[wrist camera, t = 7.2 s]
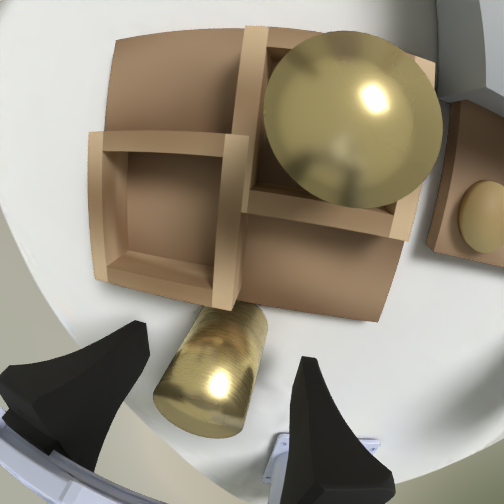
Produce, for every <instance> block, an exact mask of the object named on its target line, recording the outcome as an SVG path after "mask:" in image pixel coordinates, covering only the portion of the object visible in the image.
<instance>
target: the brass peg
mask: <svg viewBox="0 0 504 504" xmlns="http://www.w3.org/2000/svg"><path fill="white" fill-rule="evenodd" d="M267 331H268V323H267V320H266V317H265V315H264V313H263V312H262V310H261V309H260V308H259V307H258V306H257V305H256V304H254V303H249V302H244V301H238V300H236V301H235V304H234V306H233V308H232V311H228V310H223V309H218V308H213V307H208V306H204V307H203V309H202V311H201V312H200V314H199V316H198V317H197V319H196V321H195V322H194V324H193V326H192V327H191V329H190V331H189V333H188V334H187V336H186V338H185V339H184V341H183V343H182V344H181V346H180V348H179V349H178V351H177V353H176V354H175V356H174V358H173V360H172V361H171V363H170V365H169V366H168V368H167V370H166V371H165V373H164V375H163V377H162V378H161V380H160V382H159V383H158V385H157V387H156V389H155V390H154V393H153V400H154V403H155V405H156V407H157V409H158V410H159V412H160V413H161V414H162V415H163V416H164V417H165V418H166V419H167V420H169V421H170V422H171V423H173V424H174V425H176V426H177V427H179V428H181V429H183V430H185V431H187V432H189V433H192V434H195V435H198V436H202V437H207V438H228V437H232V436H234V435H236V434H238V433H239V432H240V431H241V430H242V429H243V426H244V423H245V419H246V415H247V412H248V408H249V404H250V400H251V396H252V392H253V388H254V385H255V381H256V377H257V373H258V369H259V365H260V360H261V356H262V352H263V348H264V344H265V340H266V336H267Z"/></svg>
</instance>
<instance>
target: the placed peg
mask: <svg viewBox="0 0 504 504" xmlns="http://www.w3.org/2000/svg"><path fill="white" fill-rule="evenodd" d="M263 114H264V125H265V129H266V134H267V137H268V140H269V143H270V146H271V148H272V150H273V152H274V154H275V156H276V158H277V160H278V161H279V162H280V164H281V165H282V167H283V168H284V170H285V171H286V172H287V173H288V174H289V175H290V176H291V178H292V179H293V180H294V181H296V182H297V183H298V184H299V185H300V186H301V187H303V188H304V189H305V190H307V191H308V192H310V193H311V194H313V195H315V196H316V197H318V198H320V199H322V200H325V201H327V202H330V203H332V204H335V205H339V206H343V207H349V208H375V207H381V206H384V205H388V204H391V203H394V202H396V201H398V200H400V199H402V198H404V197H405V196H407V195H409V194H410V193H411V192H413V191H414V190H415V189H416V188H418V187H419V186H420V184H421V183H422V182H423V181H424V180H425V179H426V178H427V176H428V175H429V173H430V172H431V170H432V168H433V166H434V164H435V162H436V160H437V158H438V155H439V152H440V148H441V143H442V135H443V121H442V113H441V108H440V104H439V101H438V98H437V95H436V92H435V90H434V88H433V86H432V84H431V82H430V80H429V79H428V77H427V76H426V74H425V73H424V71H423V70H422V69H421V68H420V66H419V65H418V64H417V63H416V62H415V61H414V60H413V59H412V58H411V57H410V56H409V55H408V54H406V53H405V52H404V51H402V50H401V49H400V48H398V47H397V46H395V45H393V44H392V43H390V42H388V41H386V40H384V39H381V38H379V37H377V36H373V35H370V34H367V33H361V32H356V31H334V32H328V33H323V34H319V35H317V36H314V37H311V38H309V39H307V40H305V41H303V42H301V43H300V44H298V45H297V46H295V47H294V48H293V49H291V50H290V51H289V52H288V53H287V54H286V55H285V56H284V57H283V58H282V59H281V61H280V62H279V63H278V65H277V66H276V68H275V69H274V71H273V73H272V75H271V77H270V79H269V82H268V85H267V88H266V92H265V98H264V109H263Z"/></svg>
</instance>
